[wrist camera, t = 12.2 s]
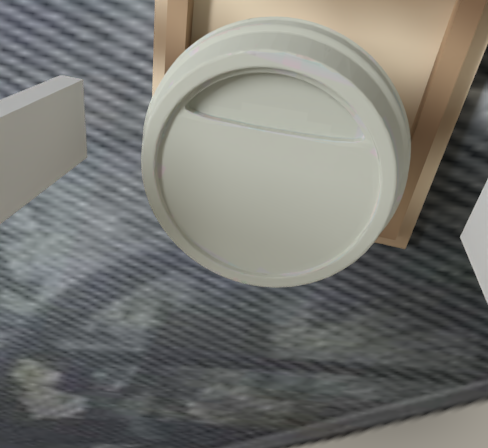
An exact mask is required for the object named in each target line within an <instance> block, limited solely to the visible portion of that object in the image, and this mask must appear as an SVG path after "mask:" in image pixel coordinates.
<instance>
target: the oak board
mask: <svg viewBox="0 0 488 448" xmlns="http://www.w3.org/2000/svg"><path fill="white" fill-rule="evenodd" d="M258 17H290V18H297V19H302V20H307V21H311V22H314V23H317V24H320V25H323V26H326V27H328V28H330V29H333V30H335V31H337V32H339V33H341V34H342V35H344V36H346V37H347V38H349V39H351V40H352V41H354V42H355V43H356V44H358V45H359V46H360V47H362V48H363V49H364V50H365V51H366V52H368V53H369V54H370V55H371V56H372V57H373V58H374V59H375V60H376V61H377V62H378V64H379V65H380V66H381V67H382V68H383V70H384V71H385V72H386V74H387V75H388V76H389V78H390V79H391V81H392V83H393V84H394V86H395V88H396V90H397V92H398V94H399V96H400V98H401V100H402V103H403V106H404V108H405V111H406V115H407V119H408V123H409V129H410V137H411V158H410V166H409V172H408V178H407V182H406V187H405V190H404V193H403V196H402V199H401V201H400V203H399V206H398V208H397V209H396V211H395V213H394V215H393V217H392V218H391V220H390V221H389V223H388V224H387V226H386V227H385V228H384V230H383V231H382V232H381V233H380V235H379V236H378V238H377V239H376V241H375V242H376V243H380V244H385V245H389V246H394V247H398V248H403V249H406V246H407V244H408V241H409V239H410V236H411V234H412V231H413V229H414V226H415V224H416V221H417V219H418V216H419V214H420V211H421V209H422V206H423V204H424V201H425V199H426V196H427V194H428V191H429V189H430V186H431V184H432V181H433V179H434V176H435V174H436V171H437V169H438V166H439V164H440V161H441V159H442V156H443V154H444V152H445V149H446V147H447V144H448V142H449V139H450V137H451V134H452V132H453V129H454V127H455V124H456V122H457V119H458V117H459V114H460V112H461V109H462V107H463V104H464V102H465V99H466V97H467V94H468V92H469V89H470V87H471V84H472V82H473V79H474V77H475V74H476V72H477V69H478V67H479V64H480V62H481V59H482V57H483V54H484V52H485V49H486V47H487V44H488V0H155V20H154V54H153V88H152V97H153V95H154V93H155V91H156V89H157V87H158V85H159V83H160V82H161V80H162V79H163V77H164V75H165V74H166V72H167V71H168V69H169V68H170V67H171V65H172V64H173V63H174V62H175V60H176V59H177V58H178V57H179V56H180V55H181V54H182V53H183V52H184V51H185V50H186V49H187V48H188V47H190V46H191V45H192V44H193V43H195V42H196V41H197V40H199V39H200V38H202V37H203V36H205V35H207V34H208V33H210V32H212V31H214V30H216V29H218V28H220V27H223V26H225V25H228V24H231V23H234V22H237V21H241V20H246V19H251V18H258Z"/></svg>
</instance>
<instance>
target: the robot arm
mask: <svg viewBox="0 0 488 448" xmlns="http://www.w3.org/2000/svg"><path fill="white" fill-rule="evenodd" d="M86 158H87V145H86V127H85V109H84V91H83V79H78V78H73V77H68V76H63V75H60V76H58V77H55V78H53V79H50V80H48V81H45V82H43V83H40V84H38V85H36V86H33V87H31V88H28V89H26V90H23V91H21V92H18V93H16V94H14V95H11V96H9V97H6V98H4V99H1V100H0V224H1V223H2V222H4V221H5V220H6V219H8V218H9V217H10V216H11V215H13V214H14V213H15V212H17V211H18V210H19V209H21V208H22V207H23V206H24V205H26V204H27V203H28V202H30V201H31V200H32V199H34V198H35V197H36V196H37V195H39V194H40V193H41V192H43V191H44V190H45V189H47V188H48V187H49V186H50V185H52V184H53V183H54V182H56V181H57V180H58V179H60V178H61V177H62V176H63V175H65V174H66V173H67V172H69V171H70V170H71V169H73V168H74V167H75V166H76V165H78V164H79V163H80V162H82V161H83V160H84V159H86ZM460 239H461V241H462V243H463V246H464V248H465V251H466V253H467V255H468V258H469V260H470V263H471V265H472V268H473V270H474V272H475V275H476V277H477V280H478V282H479V284H480V287H481V289H482V292H483V294H484V297H485V299H486V301H487V304H488V179H487V181H486V183H485V186H484V188H483V190H482V192H481V194H480V196H479V198H478V200H477V202H476V204H475V207H474V209H473V211H472V213H471V215H470V217H469V219H468V221H467V223H466V225H465V227H464V230H463V232H462V234H461V236H460Z"/></svg>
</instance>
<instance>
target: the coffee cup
mask: <svg viewBox="0 0 488 448" xmlns="http://www.w3.org/2000/svg"><path fill="white" fill-rule="evenodd" d="M410 158H411V137H410V129H409V123H408V119H407V115H406V111H405V108H404V106H403V103H402V100H401V98H400V96H399V94H398V92H397V90H396V88H395V86H394V84H393V83H392V81H391V79H390V78H389V76H388V75H387V74H386V72H385V71H384V70H383V68H382V67H381V66H380V65H379V64H378V62H377V61H376V60H375V59H374V58H373V57H372V56H371V55H370V54H369V53H368V52H366V51H365V50H364V49H363V48H362V47H360V46H359V45H358V44H356V43H355V42H354V41H352V40H351V39H349V38H347V37H346V36H344V35H342V34H341V33H339V32H337V31H335V30H333V29H330V28H328V27H326V26H323V25H320V24H317V23H314V22H311V21H307V20H302V19H297V18H290V17H258V18H251V19H246V20H241V21H237V22H234V23H231V24H228V25H225V26H223V27H220V28H218V29H216V30H214V31H212V32H210V33H208V34H207V35H205V36H203V37H202V38H200V39H199V40H197V41H196V42H195V43H193V44H192V45H191V46H190V47H188V48H187V49H186V50H185V51H184V52H183V53H182V54H181V55H180V56H179V57H178V58H177V59H176V60H175V62H174V63H173V64H172V65H171V67H170V68H169V69H168V71H167V72H166V74H165V75H164V77H163V79H162V80H161V82H160V83H159V85H158V87H157V89H156V91H155V93H154V95H153V97H152V99H151V102H150V105H149V108H148V111H147V114H146V118H145V123H144V129H143V144H142V153H141V168H142V178H143V183H144V188H145V192H146V195H147V198H148V201H149V204H150V206H151V208H152V210H153V212H154V214H155V216H156V218H157V220H158V221H159V223H160V225H161V226H162V228H163V229H164V230H165V232H166V233H167V234H168V236H169V237H170V238H171V239H172V240H173V241H174V243H175V244H176V245H177V246H178V247H179V248H180V249H181V250H182V251H183V252H185V253H186V254H187V255H188V256H189V257H191V258H192V259H193V260H195V261H196V262H198V263H199V264H200V265H202V266H204V267H205V268H207V269H209V270H211V271H212V272H214V273H216V274H219V275H221V276H223V277H226V278H228V279H231V280H234V281H237V282H241V283H245V284H249V285H255V286H262V287H291V286H299V285H304V284H309V283H312V282H316V281H319V280H322V279H324V278H327V277H330V276H332V275H334V274H336V273H338V272H339V271H341V270H343V269H345V268H346V267H348V266H349V265H351V264H352V263H354V262H355V261H356V260H357V259H358V258H359V257H361V256H362V255H363V254H364V253H365V252H366V251H367V250H368V249H369V248H370V247H371V245H372V244H373V243H374V242H375V241H376V239H377V238H378V236H379V235H380V233H381V232H382V231H383V230H384V228H385V227H386V226H387V224H388V223H389V221H390V220H391V218H392V217H393V215H394V213H395V211H396V209H397V208H398V206H399V203H400V201H401V199H402V196H403V193H404V190H405V187H406V182H407V178H408V172H409V166H410Z"/></svg>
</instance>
